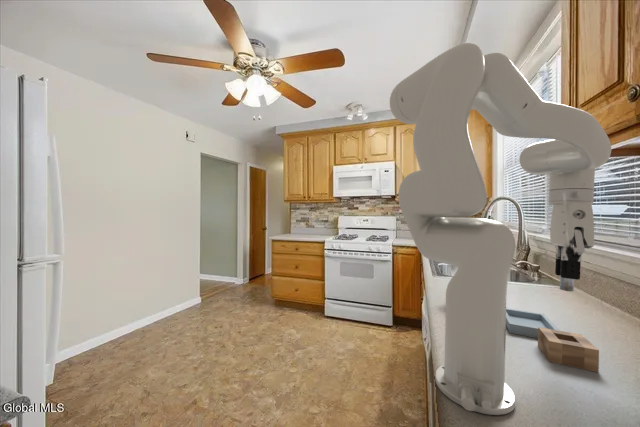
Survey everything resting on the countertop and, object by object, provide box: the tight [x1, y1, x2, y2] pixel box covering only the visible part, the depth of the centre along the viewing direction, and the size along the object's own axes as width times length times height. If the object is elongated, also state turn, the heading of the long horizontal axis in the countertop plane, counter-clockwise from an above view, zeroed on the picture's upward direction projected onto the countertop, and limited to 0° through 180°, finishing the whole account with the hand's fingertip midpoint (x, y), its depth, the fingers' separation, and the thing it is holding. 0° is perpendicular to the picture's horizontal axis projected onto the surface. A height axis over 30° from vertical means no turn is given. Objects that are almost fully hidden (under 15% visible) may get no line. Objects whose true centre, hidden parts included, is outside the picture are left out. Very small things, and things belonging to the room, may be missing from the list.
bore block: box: [537, 327, 600, 373], centre depth 59 cm, size 8×8×5 cm
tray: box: [506, 307, 561, 339], centre depth 75 cm, size 14×11×2 cm
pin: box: [559, 246, 575, 293], centre depth 60 cm, size 2×2×10 cm
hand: (567, 276), depth 60 cm, fingers closed on pin, 2 cm apart
